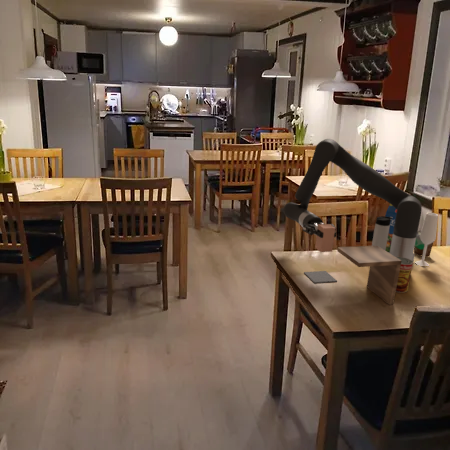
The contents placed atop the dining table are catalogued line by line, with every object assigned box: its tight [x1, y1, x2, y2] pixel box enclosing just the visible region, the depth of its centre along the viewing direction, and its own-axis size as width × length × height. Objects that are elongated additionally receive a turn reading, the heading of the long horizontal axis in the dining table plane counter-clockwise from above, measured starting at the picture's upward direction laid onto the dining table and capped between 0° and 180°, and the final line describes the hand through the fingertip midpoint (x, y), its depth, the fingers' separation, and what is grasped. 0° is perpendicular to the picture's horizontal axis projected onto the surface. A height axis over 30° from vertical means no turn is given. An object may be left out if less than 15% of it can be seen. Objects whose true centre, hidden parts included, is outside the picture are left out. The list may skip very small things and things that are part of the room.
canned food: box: [396, 257, 414, 293], centre depth 179 cm, size 8×8×12 cm
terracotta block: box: [314, 223, 336, 253], centre depth 182 cm, size 5×5×10 cm
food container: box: [413, 229, 434, 257], centre depth 220 cm, size 12×6×10 cm, turn 5°
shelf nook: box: [336, 245, 401, 306], centre depth 169 cm, size 17×16×18 cm
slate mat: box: [303, 270, 338, 284], centre depth 187 cm, size 10×10×1 cm
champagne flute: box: [414, 212, 439, 267], centre depth 204 cm, size 7×7×24 cm
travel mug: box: [371, 215, 392, 250], centre depth 209 cm, size 6×7×20 cm
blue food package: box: [384, 203, 397, 253], centre depth 218 cm, size 6×12×25 cm, turn 48°
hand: (328, 235), depth 179 cm, fingers closed on terracotta block, 5 cm apart
